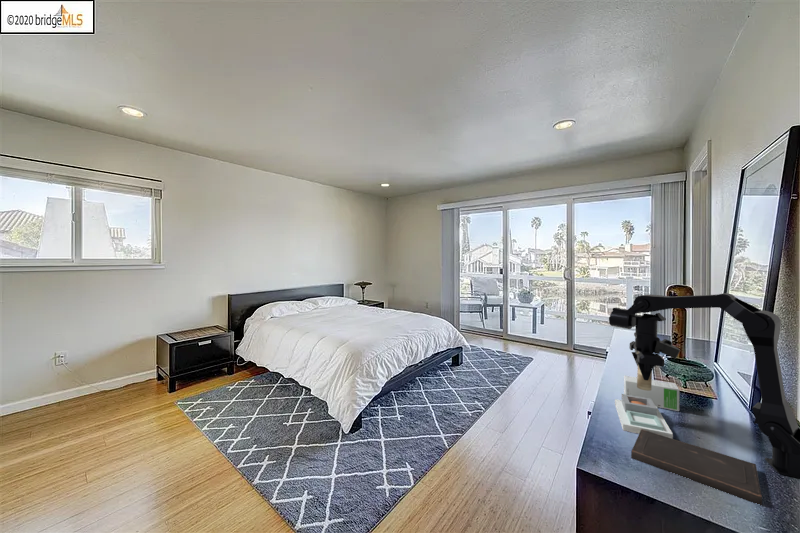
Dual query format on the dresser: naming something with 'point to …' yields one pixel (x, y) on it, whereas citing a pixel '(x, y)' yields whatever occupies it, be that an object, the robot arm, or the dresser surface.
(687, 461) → the hardcover book
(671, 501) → the dresser surface
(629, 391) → the skincare box
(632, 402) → the button
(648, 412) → the panel
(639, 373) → the beige cylindrical rod
